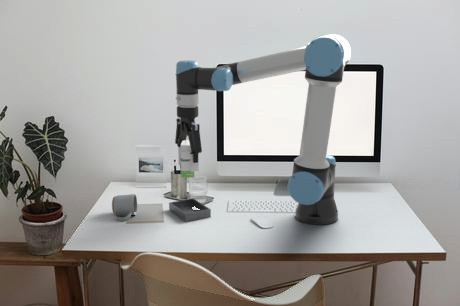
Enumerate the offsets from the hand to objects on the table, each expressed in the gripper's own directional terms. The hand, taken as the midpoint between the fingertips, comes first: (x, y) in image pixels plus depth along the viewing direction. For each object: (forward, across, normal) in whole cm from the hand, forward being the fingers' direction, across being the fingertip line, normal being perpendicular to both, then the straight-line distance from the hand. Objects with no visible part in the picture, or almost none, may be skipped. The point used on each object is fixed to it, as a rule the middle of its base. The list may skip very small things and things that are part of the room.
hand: (188, 167), depth 203 cm
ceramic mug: (+18, -9, -21) cm, 29 cm away
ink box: (+3, 0, 0) cm, 3 cm away
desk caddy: (+17, 0, 0) cm, 17 cm away
